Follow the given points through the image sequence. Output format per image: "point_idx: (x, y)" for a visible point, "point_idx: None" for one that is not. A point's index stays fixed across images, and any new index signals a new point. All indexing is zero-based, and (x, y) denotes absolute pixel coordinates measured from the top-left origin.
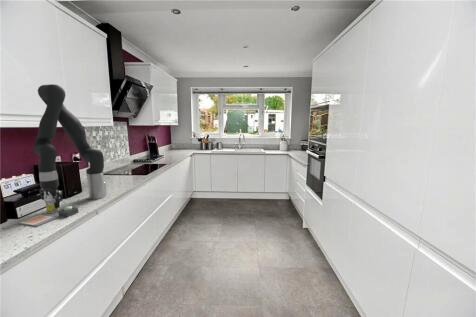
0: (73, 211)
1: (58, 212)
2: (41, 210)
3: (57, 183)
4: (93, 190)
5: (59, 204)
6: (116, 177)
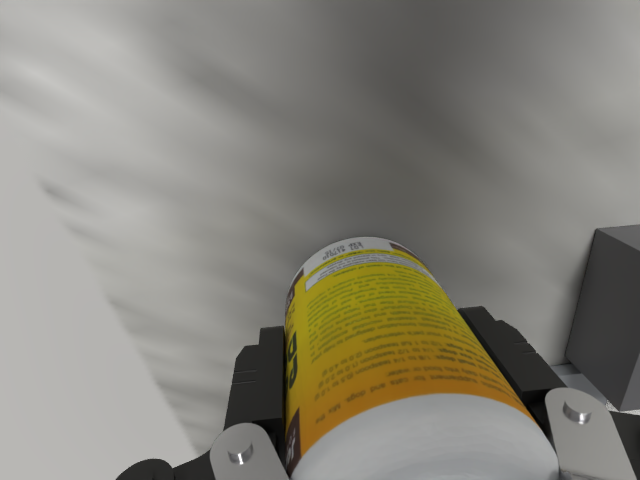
0: None
1: (602, 392)
2: (149, 332)
3: None
4: None
5: (534, 353)
6: None
